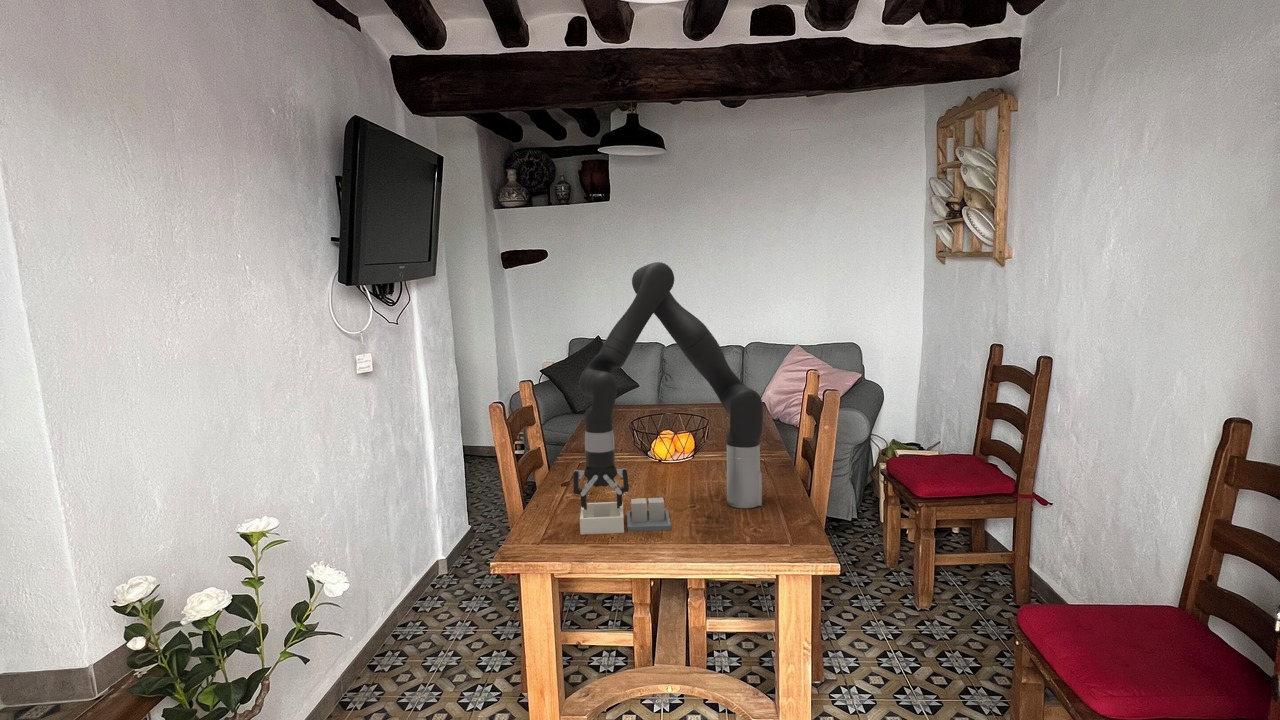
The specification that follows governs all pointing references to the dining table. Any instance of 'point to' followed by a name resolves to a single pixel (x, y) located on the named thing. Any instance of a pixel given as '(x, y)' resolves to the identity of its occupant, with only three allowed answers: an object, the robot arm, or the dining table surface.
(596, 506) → the stone
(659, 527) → the slate tray
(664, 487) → the dining table surface
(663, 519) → the stone
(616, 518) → the cream dish
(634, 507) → the stone
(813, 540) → the dining table surface
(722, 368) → the robot arm
